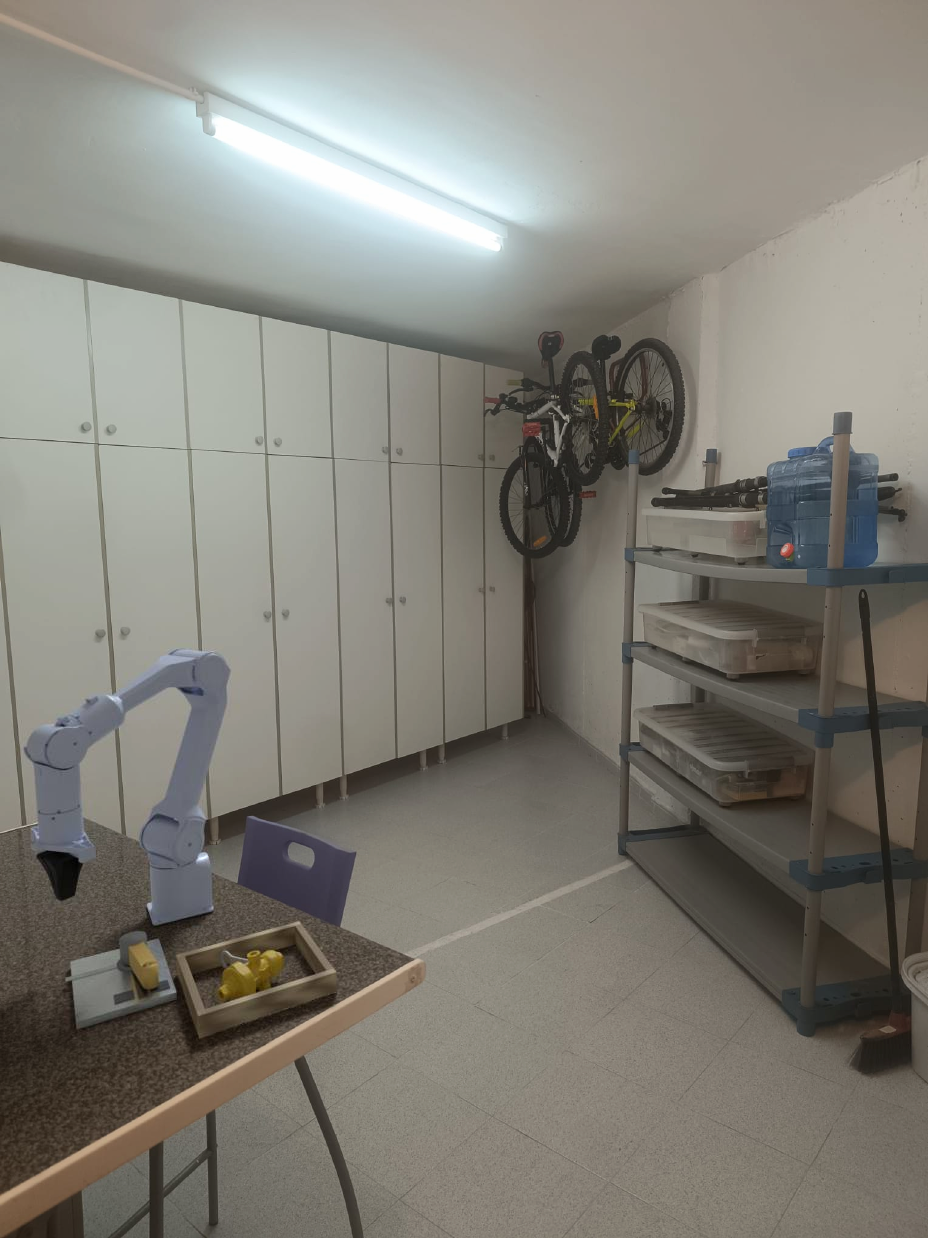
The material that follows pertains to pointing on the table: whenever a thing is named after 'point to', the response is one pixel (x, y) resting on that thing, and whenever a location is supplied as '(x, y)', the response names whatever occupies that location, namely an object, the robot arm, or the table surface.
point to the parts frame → (262, 1001)
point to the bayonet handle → (139, 958)
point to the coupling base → (115, 987)
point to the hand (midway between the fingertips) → (65, 897)
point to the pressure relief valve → (248, 973)
